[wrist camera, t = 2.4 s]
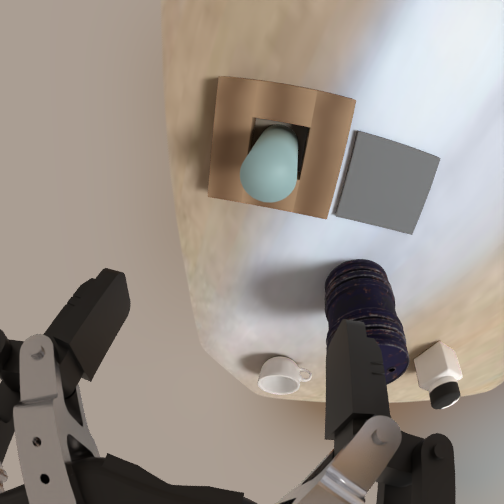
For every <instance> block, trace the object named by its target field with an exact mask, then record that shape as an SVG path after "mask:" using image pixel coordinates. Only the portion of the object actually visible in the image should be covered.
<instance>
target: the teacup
mask: <svg viewBox="0 0 504 504" xmlns="http://www.w3.org/2000/svg"><path fill="white" fill-rule="evenodd" d="M300 372H307V373H309V374H310V376H309V378H307V379H304V378H303V377H302V376H301V375H300ZM311 377H312V373H311V372H310V371H309V370H307V369H304V368H300V367H298V366H297V364H296V363H295V362H294V361H293V360H291V359H290V358H287V357H283V356H278V357H273V358H270V359H269V360H267V361H266V362H265V363H264V365H263V366H262V368H261V371H260V375H259V379H258V386H259V387H260V388H261V389H262V390H263V391H266V392H268V393H272V394H279V395H283V394H290V393H293V392H295V391H297V390H298V389H299V387H300V381H303V382H306V381H309V380H310V379H311Z"/></svg>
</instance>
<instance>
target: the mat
mask: <svg viewBox="0 0 504 504" xmlns="http://www.w3.org/2000/svg"><path fill="white" fill-rule="evenodd" d="M439 161H440V158H439V157H437V156H434V155H431V154H429V153H426V152H423V151H421V150H418V149H415V148H412V147H410V146H407V145H404V144H401V143H398V142H395V141H392V140H388V139H385V138H382V137H379V136H375V135H372V134H368V133H365V132H361V131H357V135H356V140H355V144H354V148H353V152H352V156H351V160H350V163H349V167H348V171H347V175H346V179H345V182H344V186H343V189H342V193H341V197H340V200H339V204H338V207H337V211H336V214H335V215H336V217H341V218H345V219H350V220H354V221H358V222H362V223H367V224H371V225H375V226H379V227H383V228H387V229H391V230H395V231H399V232H403V233H407V234H411V235H412V233H413V231H414V229H415V226H416V224H417V221H418V219H419V217H420V214H421V212H422V209H423V206H424V204H425V201H426V199H427V196H428V193H429V191H430V188H431V185H432V182H433V179H434V176H435V173H436V171H437V167H438V164H439Z"/></svg>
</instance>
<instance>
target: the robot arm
mask: <svg viewBox="0 0 504 504" xmlns="http://www.w3.org/2000/svg"><path fill="white" fill-rule="evenodd" d="M129 311H130V298H129V293H128V288H127V283H126V277H125V274H124V273H123V272H119V271H115V270H111V269H108V268H105V269H103V270H102V271H101V272H100V274H99V275H98V276H97V277H96V279H93V278H91V279H89V280H88V281H86V282H85V283H83V284H82V285H81V286H80V287H79V288H78V289H77V291H76V292H75V293H74V294H73V297H71V298H70V300H69V301H68V302H67V305H65V306H64V307H63V309H62V310H61V311H60V313H59V314H58V315H57V317H56V318H55V319H54V321H53V322H52V324H51V325H50V326H49V328H48V329H47V331H46V332H45V333H44V334H43V335H42V334H36V335H33V336H30V337H29V338H28V339H26V340H25V341H24V342H23V341H15V340H9V339H7V337H6V336H5V334H4V332H3V331H2V330H0V379H1V380H2V381H1V383H0V504H257V503H255V502H253V501H252V500H250V499H247V498H245V497H243V496H244V493H240V492H234V491H229V490H224V489H219V488H214V487H210V486H181V485H171V484H168V483H166V482H164V481H162V480H160V479H159V478H157V477H156V476H154V475H152V474H151V473H149V472H147V471H146V470H144V469H143V468H141V467H140V466H138V465H135V464H133V463H130V462H128V461H125V460H123V459H120V458H118V457H115V456H113V455H110V454H108V453H107V456H106V458H103V457H100V456H99V452H98V449H97V446H96V444H95V441H94V439H93V438H92V436H91V434H90V432H89V429H88V426H87V422H86V418H85V413H84V409H83V404H82V399H81V394H80V389H79V385H78V382H79V381H80V379H81V378H84V379H86V380H88V381H90V382H91V381H92V379H93V377H94V375H95V373H96V371H97V369H98V367H99V366H100V364H101V362H102V360H103V358H104V356H105V355H106V353H107V351H108V349H109V347H110V346H111V344H112V342H113V340H114V339H115V337H116V335H117V333H118V332H119V330H120V328H121V326H122V325H123V323H124V321H125V320H126V318H127V316H128V314H129ZM384 374H385V371H384V366H383V358H382V352H381V349H380V347H379V346H378V344H377V342H376V341H375V339H374V338H368V337H367V334H366V328H365V324H364V322H360V321H353V320H347V319H343V320H342V321H341V323H340V325H339V327H338V329H337V331H336V333H335V335H334V337H333V338H332V340H331V342H330V344H329V347H328V350H327V355H326V418H325V439H326V440H327V439H328V440H334V449H333V450H332V451H331V452H330V453H329V454H328V455H327V456H326V457H325V458H324V459H323V461H322V462H321V463H320V464H319V465H318V466H317V467H316V468H315V469H314V470H313V471H312V472H311V473H310V474H309V475H308V476H307V477H306V478H305V479H304V480H303V481H302V482H301V483H300V484H299V485H298V486H296V487H295V488H294V489H293V490H291V491H290V492H289V493H288V494H286V495H285V496H284V497H283V498H282V499H281V500H279V501H278V502H277V503H276V504H365V499H364V497H365V495H366V493H367V492H368V491H369V489H370V488H371V486H372V485H373V484H374V482H375V481H376V482H378V492H377V503H376V504H455V466H454V451H453V446H452V443H451V441H450V440H449V439H448V438H447V437H446V436H445V435H442V434H438V433H436V434H432V435H430V436H428V437H427V438H425V439H423V438H420V437H417V436H413V435H410V434H407V433H405V432H403V431H401V430H400V427H399V426H398V424H397V423H396V422H395V421H394V420H393V419H391V416H390V411H389V402H388V393H387V385H386V378H385V376H384ZM14 431H15V436H16V443H17V449H18V455H19V461H20V466H21V471H22V475H23V480H24V484H23V485H21V486H18V487H16V488H13V489H11V490H8V491H4V488H3V482H6V481H7V478H8V476H7V473H6V471H5V470H3V466H2V462H3V459H4V457H5V454H6V452H7V449H8V446H9V444H10V441H11V439H12V436H13V434H14Z"/></svg>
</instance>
